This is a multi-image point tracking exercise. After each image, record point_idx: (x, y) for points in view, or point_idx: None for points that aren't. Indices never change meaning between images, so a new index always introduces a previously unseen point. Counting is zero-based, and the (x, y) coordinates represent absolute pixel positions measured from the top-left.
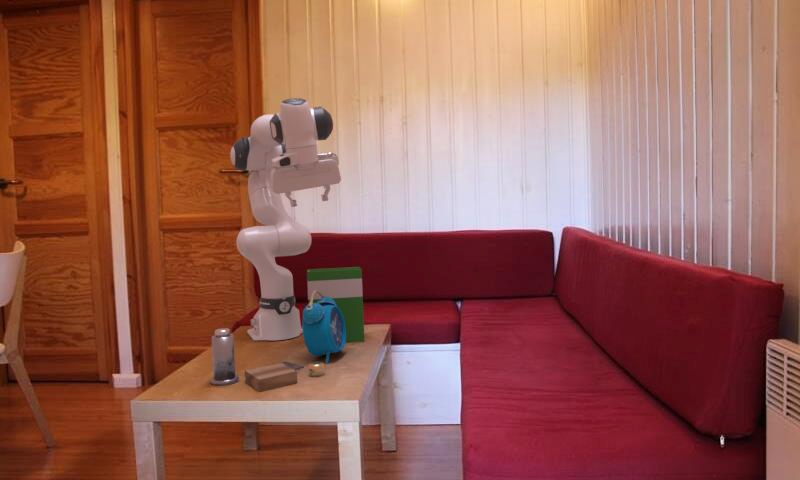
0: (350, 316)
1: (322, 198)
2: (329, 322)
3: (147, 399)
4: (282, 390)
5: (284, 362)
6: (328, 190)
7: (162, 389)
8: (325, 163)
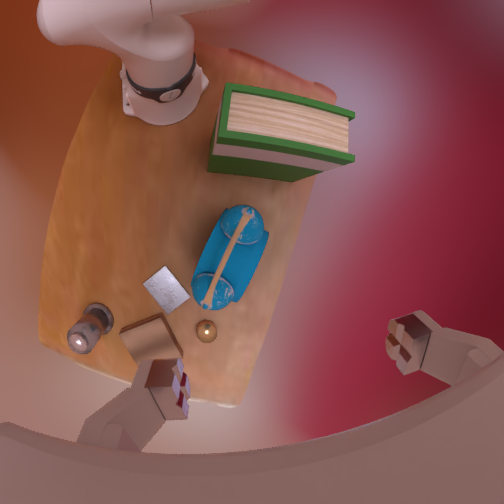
0: (286, 172)
1: (398, 338)
2: (237, 301)
3: (45, 345)
4: None
5: (163, 272)
6: (454, 381)
7: (46, 320)
8: None
